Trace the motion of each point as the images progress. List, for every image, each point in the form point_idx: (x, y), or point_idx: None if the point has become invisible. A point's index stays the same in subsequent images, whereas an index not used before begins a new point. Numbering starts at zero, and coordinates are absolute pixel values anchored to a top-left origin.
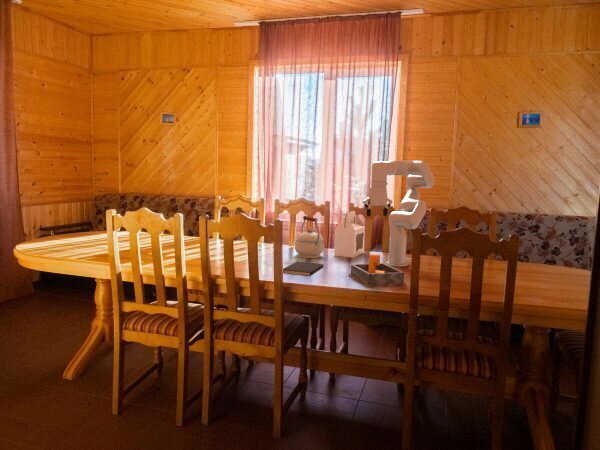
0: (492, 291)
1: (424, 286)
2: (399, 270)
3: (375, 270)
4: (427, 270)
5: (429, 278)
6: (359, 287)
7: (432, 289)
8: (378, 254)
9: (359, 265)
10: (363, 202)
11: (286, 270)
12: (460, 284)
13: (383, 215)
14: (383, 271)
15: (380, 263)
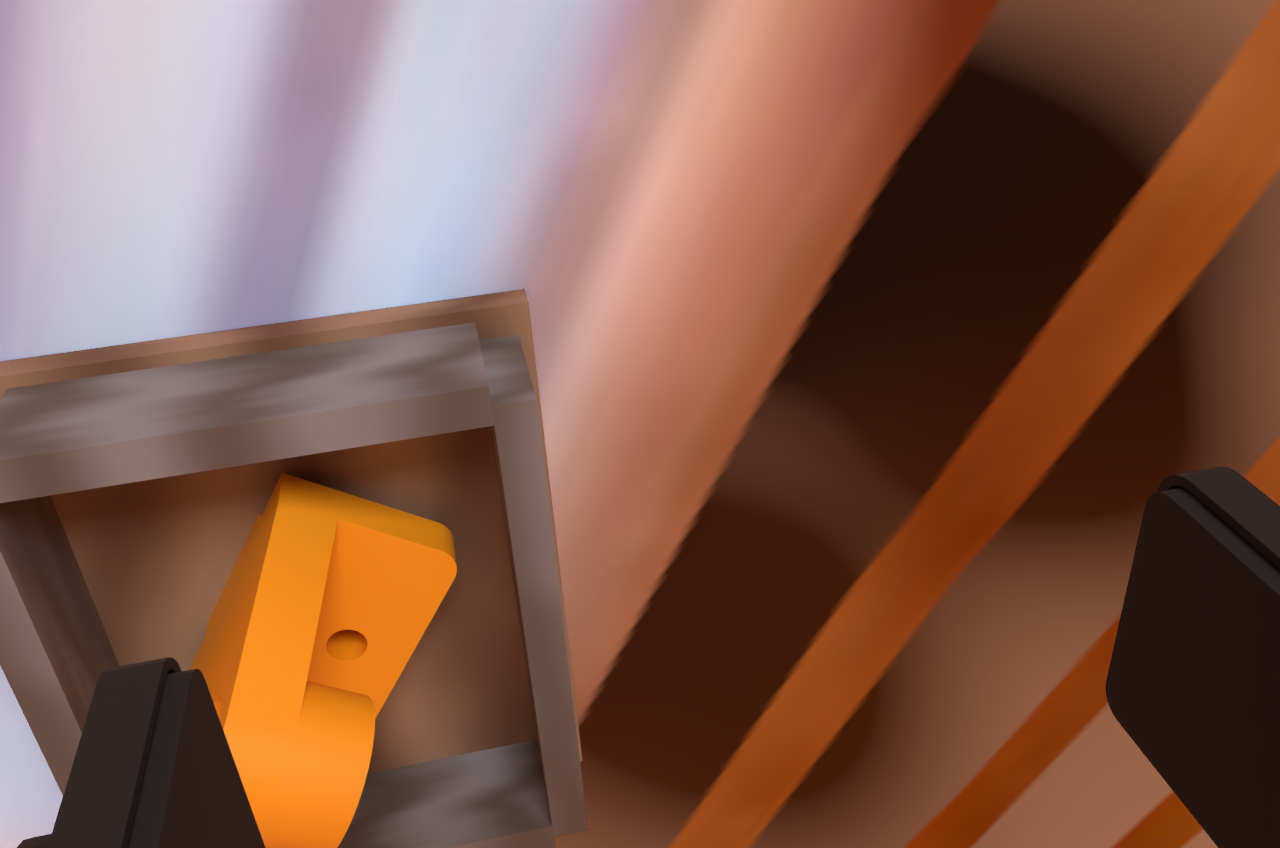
0: (1166, 829)
1: (741, 754)
2: (574, 760)
3: (338, 532)
4: (1240, 100)
5: (977, 492)
6: (51, 830)
7: (756, 825)
8: (329, 823)
9: (86, 481)
10: None
11: None
12: (1098, 679)
13: (1146, 525)
14: (435, 580)
15: (471, 412)
